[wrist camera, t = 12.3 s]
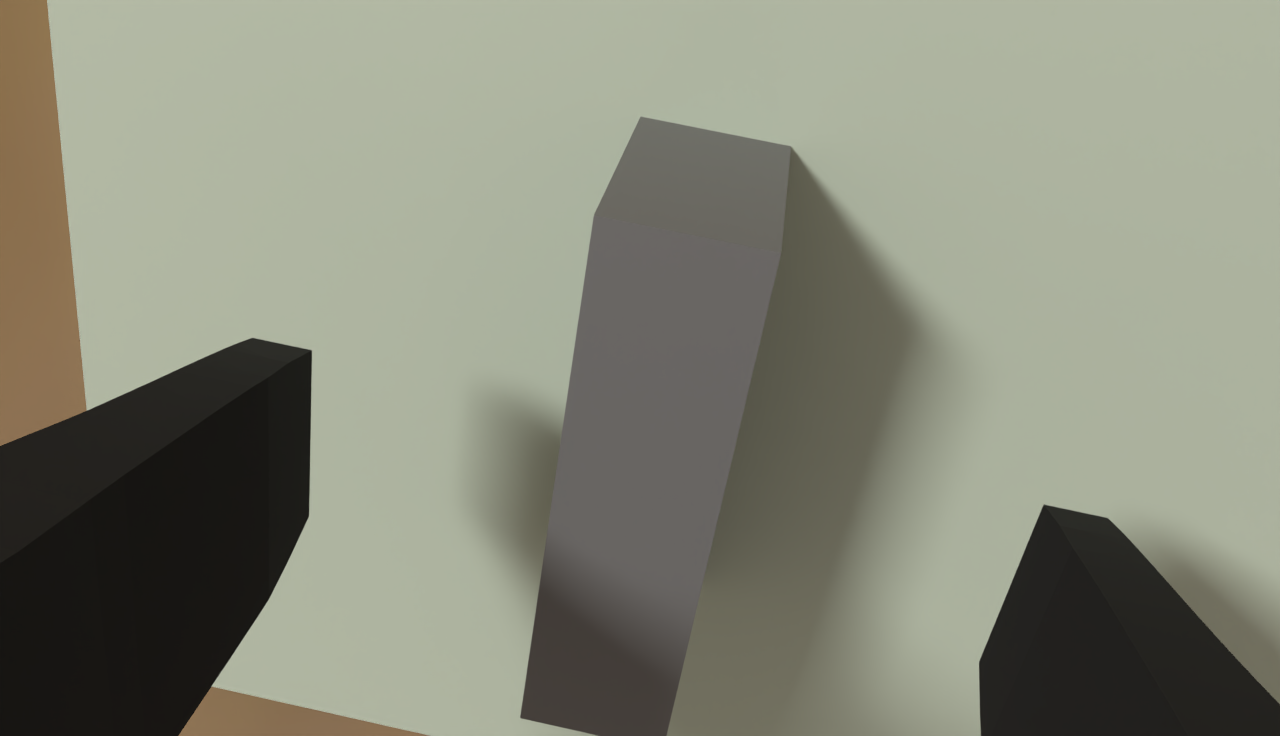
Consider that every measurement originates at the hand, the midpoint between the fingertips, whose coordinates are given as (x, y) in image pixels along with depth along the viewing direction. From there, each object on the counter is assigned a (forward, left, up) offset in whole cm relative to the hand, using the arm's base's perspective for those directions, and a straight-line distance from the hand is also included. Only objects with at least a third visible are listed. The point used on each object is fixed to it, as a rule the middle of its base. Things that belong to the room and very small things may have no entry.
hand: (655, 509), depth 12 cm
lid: (0, -2, -4) cm, 4 cm away
